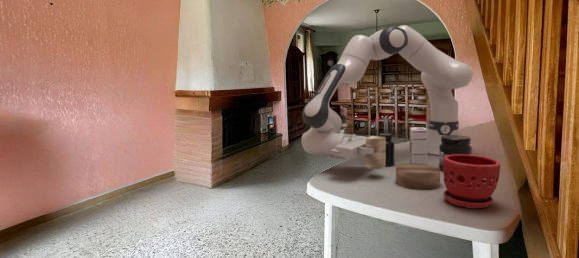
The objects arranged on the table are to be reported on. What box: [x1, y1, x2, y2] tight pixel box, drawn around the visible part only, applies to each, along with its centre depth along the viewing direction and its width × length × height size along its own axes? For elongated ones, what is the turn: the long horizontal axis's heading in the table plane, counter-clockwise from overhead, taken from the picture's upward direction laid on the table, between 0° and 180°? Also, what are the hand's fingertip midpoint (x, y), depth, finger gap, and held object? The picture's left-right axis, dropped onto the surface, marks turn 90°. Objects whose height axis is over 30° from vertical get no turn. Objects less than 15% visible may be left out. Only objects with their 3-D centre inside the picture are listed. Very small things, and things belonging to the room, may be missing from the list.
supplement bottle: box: [378, 132, 395, 167], centre depth 132 cm, size 7×7×12 cm
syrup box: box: [409, 126, 429, 165], centre depth 128 cm, size 6×6×14 cm
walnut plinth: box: [395, 163, 441, 191], centre depth 107 cm, size 13×13×5 cm
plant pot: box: [442, 154, 501, 209], centre depth 89 cm, size 13×13×12 cm
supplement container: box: [438, 135, 473, 174], centre depth 121 cm, size 10×10×12 cm
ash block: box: [365, 135, 387, 170], centre depth 115 cm, size 5×5×10 cm
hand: (378, 149), depth 114 cm, fingers closed on ash block, 5 cm apart
